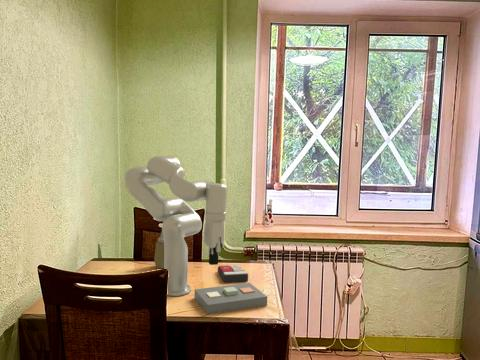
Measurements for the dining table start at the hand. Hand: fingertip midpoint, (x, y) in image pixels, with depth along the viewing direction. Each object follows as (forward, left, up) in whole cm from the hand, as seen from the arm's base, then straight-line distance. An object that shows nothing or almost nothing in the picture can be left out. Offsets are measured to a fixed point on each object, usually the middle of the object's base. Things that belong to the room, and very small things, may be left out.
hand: (213, 263), depth 156 cm
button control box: (+19, +26, -16) cm, 37 cm away
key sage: (+7, 0, -13) cm, 15 cm away
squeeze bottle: (-8, +50, -16) cm, 53 cm away
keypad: (+7, 0, -16) cm, 17 cm away
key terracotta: (+14, 0, -14) cm, 20 cm away
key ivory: (0, 0, -14) cm, 14 cm away
